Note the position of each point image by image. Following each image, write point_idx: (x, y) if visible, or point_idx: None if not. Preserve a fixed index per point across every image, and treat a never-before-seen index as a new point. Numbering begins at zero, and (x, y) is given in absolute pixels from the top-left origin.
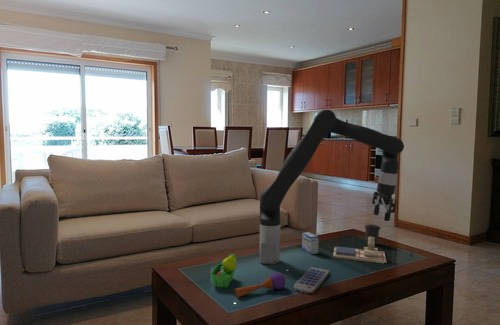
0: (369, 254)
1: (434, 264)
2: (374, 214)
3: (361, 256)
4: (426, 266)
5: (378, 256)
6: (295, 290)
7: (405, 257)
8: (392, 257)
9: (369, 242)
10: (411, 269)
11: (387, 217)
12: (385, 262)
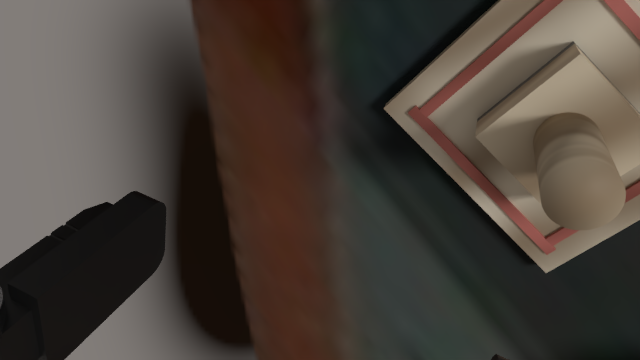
0: (536, 78)
1: (257, 325)
2: (497, 356)
3: (590, 14)
4: (251, 269)
5: None
6: None
7: (409, 308)
8: (455, 245)
9: (575, 141)
10: (246, 159)
11: (56, 231)
12: (390, 101)
